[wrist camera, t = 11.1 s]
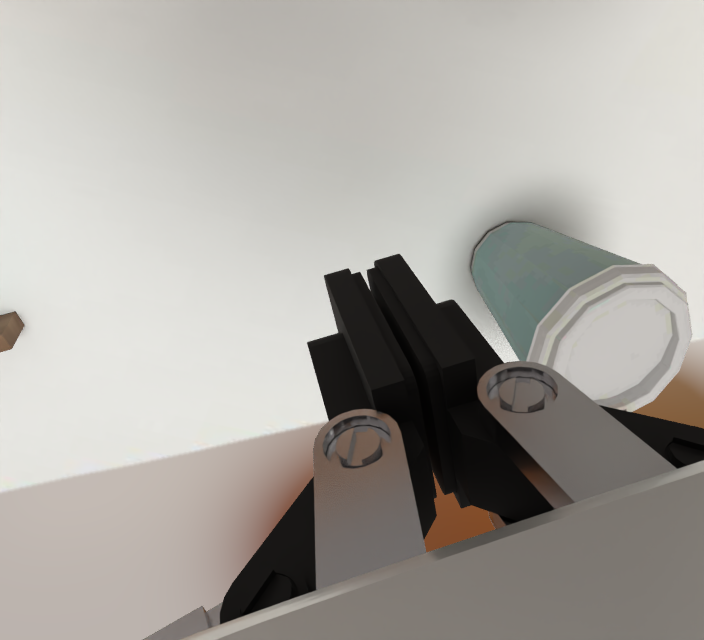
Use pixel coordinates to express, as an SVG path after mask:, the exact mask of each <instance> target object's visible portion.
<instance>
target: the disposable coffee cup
mask: <svg viewBox="0 0 704 640" xmlns="http://www.w3.org/2000/svg"><path fill="white" fill-rule="evenodd" d="M471 269H472V272H471V273H472V276H473V278H474V281H475V284H476V287H477V289H478V291H479V293H480V294H481V296H482V298H483V300H484V301H485V303H486V305H487V306H488V308H489V310H490V311H491V313H492V315H493V316H494V318H495V320H496V322H497V323H498V325H499V327H500V328H501V330H502V332H503V333H504V335H505V337H506V338H507V340H508V342H509V343H510V345H511V347H512V349H513V350H514V352H515V354H516V355H517V357H518V359H519V360H520V361H528V362H536V363H539V364H542V365H545V366H548V367H550V368H551V369H553V370H555V371H556V372H558V373H559V374H561V375H562V376H563V377H564V378H566V379H567V380H568V381H569V382H570V383H572V384H573V385H574V386H575V387H577V388H578V389H579V390H580V391H582V392H583V393H584V394H585V395H587V396H588V397H589V398H590V399H592V400H593V401H594V402H595V403H596V404H598V405H602V406H606V407H610V408H615V409H619V410H624V411H628V412H632V411H634V410H636V409H638V408H640V407H642V406H644V405H646V404H648V403H650V402H652V401H653V400H654V399H655V398H656V397H657V396H658V394H660V392H661V391H662V390H663V389H664V388H665V387H666V385H667V384H668V383H669V382H670V381H671V380H672V379H673V377H674V376H675V375H676V374H677V373H678V372H679V370H680V367H681V365H682V362H683V359H684V356H685V354H686V351H687V348H688V346H689V343H690V340H691V338H692V330H691V323H690V316H689V309H688V303H687V298H686V292H685V291H683V290H682V289H681V288H680V287H679V286H677V284H676V283H675V282H674V281H673V280H671V279H670V278H669V277H668V276H667V275H665V274H664V273H663V272H662V271H661V270H659V269H658V268H657V267H656V266H655V265H653V264H639V263H637V262H634V261H631V260H629V259H626V258H624V257H621V256H618V255H616V254H613V253H610V252H608V251H605V250H602V249H600V248H597V247H595V246H592V245H589V244H587V243H584V242H581V241H579V240H576V239H573V238H571V237H568V236H566V235H563V234H560V233H558V232H555V231H552V230H550V229H547V228H544V227H542V226H539V225H536V224H534V223H524V222H511V223H505V224H503V225H501V226H499V227H497V228H495V229H493V230H492V231H490V232H488V233H487V234H486V236H485V237H484V238H483V239H482V241H481V242H480V243H479V245H478V246H477V247H476V248H475V252H474V256H473V261H472V265H471Z"/></svg>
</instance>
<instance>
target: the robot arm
mask: <svg viewBox="0 0 704 640" xmlns="http://www.w3.org/2000/svg"><path fill="white" fill-rule="evenodd" d="M374 266H375V268H372V269H368V270H367V276H368V281H369V286H370V290H371V291H370V290H369V288H368V286H367V284H366V282H365V280H364V278H363V276H362V275H361V273H360V272H358V273H354V274H351V272H350V270H349V268H348V269H344V270H341V271H337V272H334V273H330V274H327V275H324V278H325V283H326V287H327V291H328V294H329V298H330V302H331V306H332V310H333V314H334V317H335V321H336V325H337V329H338V333H337V334H333V335H330V336H327V337H323V338H320V339H317V340H313V341H310V342H307V344H308V348H309V351H310V355H311V358H312V362H313V366H314V369H315V373H316V376H317V380H318V384H319V387H320V391H321V394H322V398H323V401H324V405H325V409H326V412H327V416H328V419H329V422H328V423H326V424H325V425H324V426H323V427H322V428H321V430H320V431H319V433H318V435H317V437H316V438H315V442H314V448H313V459H314V460H313V461H314V477H313V478H312V479H311V480H310V482H309V483H308V484H307V486H306V487H305V488H304V490H303V491H302V492H301V494H300V495H299V496H298V498H297V499H296V500H295V502H294V503H293V504H292V505H291V507H290V508H289V509H288V511H287V512H286V513H285V515H284V516H283V517H282V519H281V520H280V521H279V523H278V524H277V525H276V527H275V528H274V529H273V531H272V532H271V533H270V534H269V536H268V537H267V538H266V540H265V541H264V542H263V544H262V545H261V546H260V548H259V549H258V550H257V551H256V553H255V554H254V555H253V557H252V558H251V559H250V561H249V562H248V563H247V565H246V566H245V568H244V569H243V570H242V571H241V573H240V574H239V575H238V576H237V578H236V579H235V580H234V582H233V583H232V585H231V587H230V588H229V590H228V592H227V593H226V595H225V597H224V600H223V602H222V603H220V604H219V605H217V606H215V607H214V608H212V609H210V610H208V611H207V612H206V610H205V609H204V607H203V606H201V607H199V608H197V609H196V610H194V611H192V612H190V613H189V614H187V615H185V616H183V617H182V618H180V619H178V620H177V621H175V622H173V623H171V624H169V625H168V626H166V627H164V628H163V629H161V630H159V631H157V632H155V633H154V634H152V635H150V636H148V637H147V638H145V639H143V640H704V429H703V428H699V427H695V426H690V425H686V424H681V423H677V422H672V421H668V420H663V419H659V418H655V417H650V416H646V415H641V414H637V413H633V412H628V411H624V410H619V409H615V408H610V407H606V406H602V405H598V404H596V403H595V402H594V401H593V400H592V399H590V398H589V397H588V396H587V395H585V394H584V393H583V392H582V391H580V390H579V389H578V388H577V387H575V386H574V385H573V384H572V383H570V382H569V381H568V380H567V379H566V378H564V377H563V376H562V375H561V374H559V373H558V372H556V371H555V370H553V369H551V368H550V367H548V366H545V365H542V364H539V363H536V362H528V361H515V362H507V363H504V362H503V361H502V360H501V359H500V357H499V356H498V355H497V354H496V352H495V351H494V350H493V349H492V347H491V346H490V345H489V343H488V342H487V341H486V340H485V338H484V337H483V336H482V335H481V333H480V332H479V331H478V329H477V328H476V327H475V326H474V324H473V323H472V322H471V321H470V319H469V318H468V317H467V316H466V314H465V313H464V312H463V310H462V309H461V308H460V307H459V305H458V304H457V303H456V302H455V301H454V300H448V301H444V302H441V303H438V304H436V303H435V302H434V301H433V299H432V298H431V296H430V295H429V294H428V292H427V291H426V290H425V288H424V287H423V285H422V284H421V283H420V281H419V280H418V278H417V277H416V276H415V274H414V273H413V271H412V270H411V269H410V267H409V266H408V265H407V263H406V262H405V260H404V259H403V258H402V256H401V255H400V254H397V255H393V256H390V257H386V258H383V259H379V260H376V261H375V262H374ZM432 470H433V471H432ZM433 473H434V475H435V476H436V479H437V481H438V483H439V485H440V488H441V490H442V492H443V493H444V494H445V495H446V494H449V493H452V492H453V493H454V494H455V497H456V499H457V501H458V503H459V505H460V507H461V508H464V507H467V506H470V505H473V506H476V507H479V508H481V509H484V510H487V511H489V518H490V520H491V522H492V524H493V526H494V527H495V528H496V529H495V530H492V531H490V532H486V533H484V534H481V535H478V536H475V537H472V538H469V539H466V540H463V541H460V542H457V543H454V544H451V545H448V546H445V547H442V548H439V549H436V550H433V551H430V552H427V553H426V549H425V544H424V539H425V537H426V535H427V533H428V531H429V529H430V527H431V525H432V523H433V522H434V520H435V518H436V516H437V515H436V509H435V504H434V498H436V497H437V495H436V489H435V483H434V477H433Z"/></svg>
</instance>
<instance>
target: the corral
mask: <svg viewBox="0 0 704 640" xmlns="http://www.w3.org/2000/svg"><path fill="white" fill-rule="evenodd" d="M23 327H24V324H23V322H22V321H21V319H20V318H19V316H18V315H17V313H16V312H12V313H8V314H5V315H1V316H0V352H3V351H7V350H10V349H12V348H13V346H14V344H15V342H16V340H17V338H18V337H19V335H20V333H21V331H22V329H23Z"/></svg>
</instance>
